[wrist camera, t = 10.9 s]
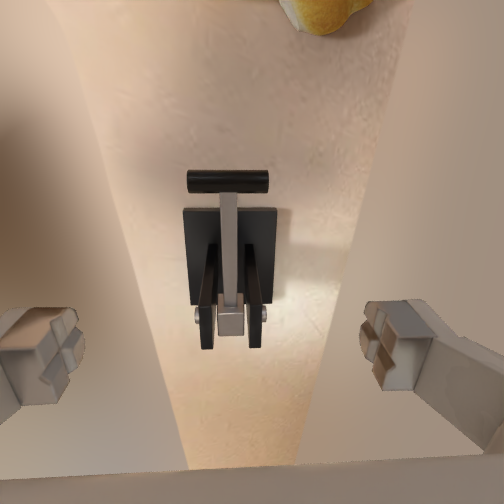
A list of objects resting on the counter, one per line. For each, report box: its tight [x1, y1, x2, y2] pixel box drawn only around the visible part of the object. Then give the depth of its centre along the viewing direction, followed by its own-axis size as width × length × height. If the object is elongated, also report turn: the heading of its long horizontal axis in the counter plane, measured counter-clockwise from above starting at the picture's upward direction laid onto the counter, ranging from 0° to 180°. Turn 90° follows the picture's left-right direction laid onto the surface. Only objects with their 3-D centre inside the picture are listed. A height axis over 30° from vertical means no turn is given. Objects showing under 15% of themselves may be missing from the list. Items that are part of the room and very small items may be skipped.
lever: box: [187, 170, 269, 336], centre depth 23 cm, size 14×5×2 cm, turn 179°
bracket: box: [183, 208, 277, 350], centre depth 30 cm, size 12×10×13 cm
